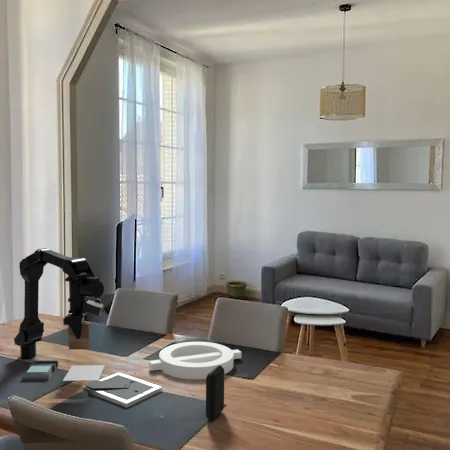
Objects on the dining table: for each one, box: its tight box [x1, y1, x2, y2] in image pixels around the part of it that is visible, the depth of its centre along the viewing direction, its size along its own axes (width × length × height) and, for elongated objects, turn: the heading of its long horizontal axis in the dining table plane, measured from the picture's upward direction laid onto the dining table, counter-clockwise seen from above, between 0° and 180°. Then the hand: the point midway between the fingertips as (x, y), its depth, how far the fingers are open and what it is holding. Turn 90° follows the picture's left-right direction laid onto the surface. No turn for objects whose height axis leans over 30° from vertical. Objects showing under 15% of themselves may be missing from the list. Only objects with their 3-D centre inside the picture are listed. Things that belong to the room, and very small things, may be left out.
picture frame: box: [82, 372, 163, 408], centre depth 170 cm, size 16×3×21 cm
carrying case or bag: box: [205, 365, 225, 422], centre depth 153 cm, size 11×3×15 cm, turn 159°
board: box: [62, 364, 106, 382], centre depth 183 cm, size 14×12×1 cm
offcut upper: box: [26, 366, 52, 373], centre depth 181 cm, size 6×7×1 cm
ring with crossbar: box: [148, 341, 242, 380], centre depth 195 cm, size 28×28×5 cm
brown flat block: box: [67, 322, 91, 350], centre depth 182 cm, size 2×7×9 cm, turn 93°
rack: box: [20, 359, 59, 382], centre depth 183 cm, size 14×9×3 cm, turn 4°
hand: (79, 337), depth 182 cm, fingers closed on brown flat block, 2 cm apart
